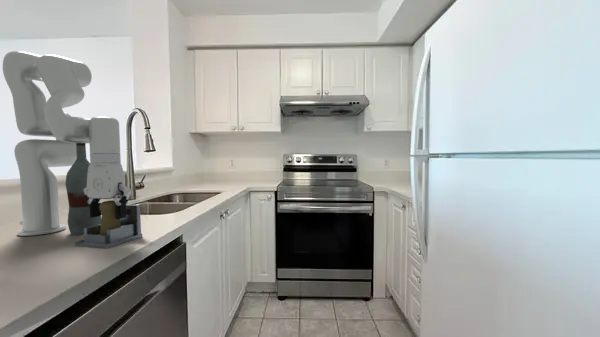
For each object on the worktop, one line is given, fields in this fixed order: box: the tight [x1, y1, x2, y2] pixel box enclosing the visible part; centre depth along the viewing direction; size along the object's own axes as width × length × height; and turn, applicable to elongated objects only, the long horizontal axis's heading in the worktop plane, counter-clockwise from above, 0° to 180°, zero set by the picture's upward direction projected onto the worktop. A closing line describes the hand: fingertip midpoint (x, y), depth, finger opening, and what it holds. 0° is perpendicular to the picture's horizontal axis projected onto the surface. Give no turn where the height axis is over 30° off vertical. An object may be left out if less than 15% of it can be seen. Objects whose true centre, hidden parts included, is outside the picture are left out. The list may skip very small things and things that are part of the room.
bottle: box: [65, 143, 102, 236], centre depth 101 cm, size 9×9×30 cm
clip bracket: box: [74, 204, 143, 249], centre depth 89 cm, size 12×12×10 cm
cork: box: [99, 199, 121, 235], centre depth 89 cm, size 6×6×11 cm
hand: (108, 217), depth 89 cm, fingers open, 9 cm apart
